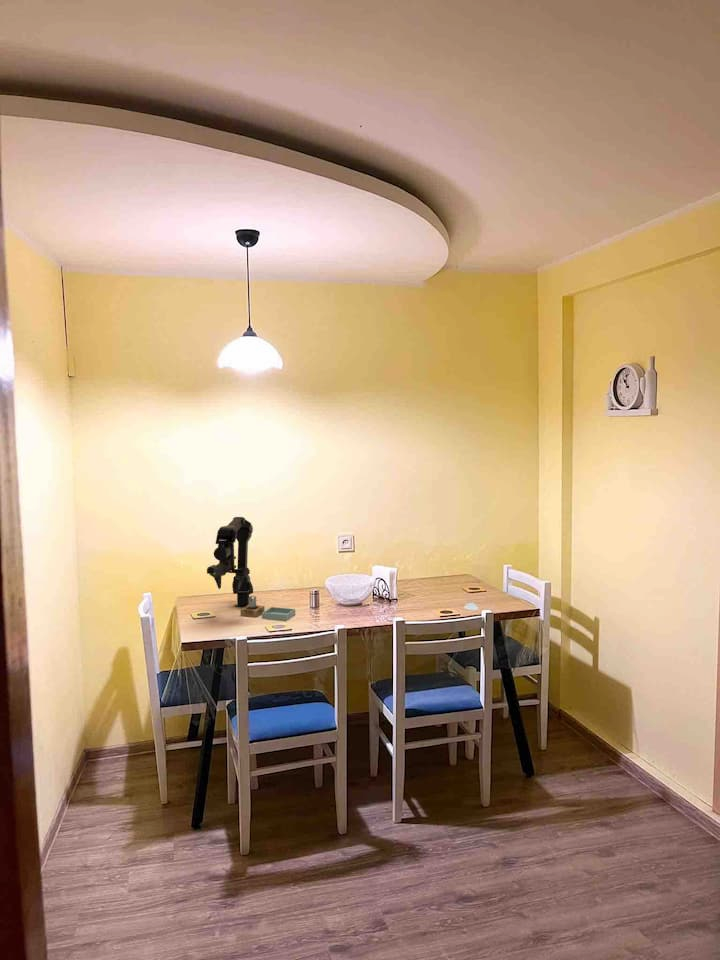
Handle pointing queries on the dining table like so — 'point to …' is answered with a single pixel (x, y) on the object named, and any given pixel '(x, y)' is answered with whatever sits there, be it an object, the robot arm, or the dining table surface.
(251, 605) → the pin
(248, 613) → the socket block
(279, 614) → the tray
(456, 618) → the dining table surface
